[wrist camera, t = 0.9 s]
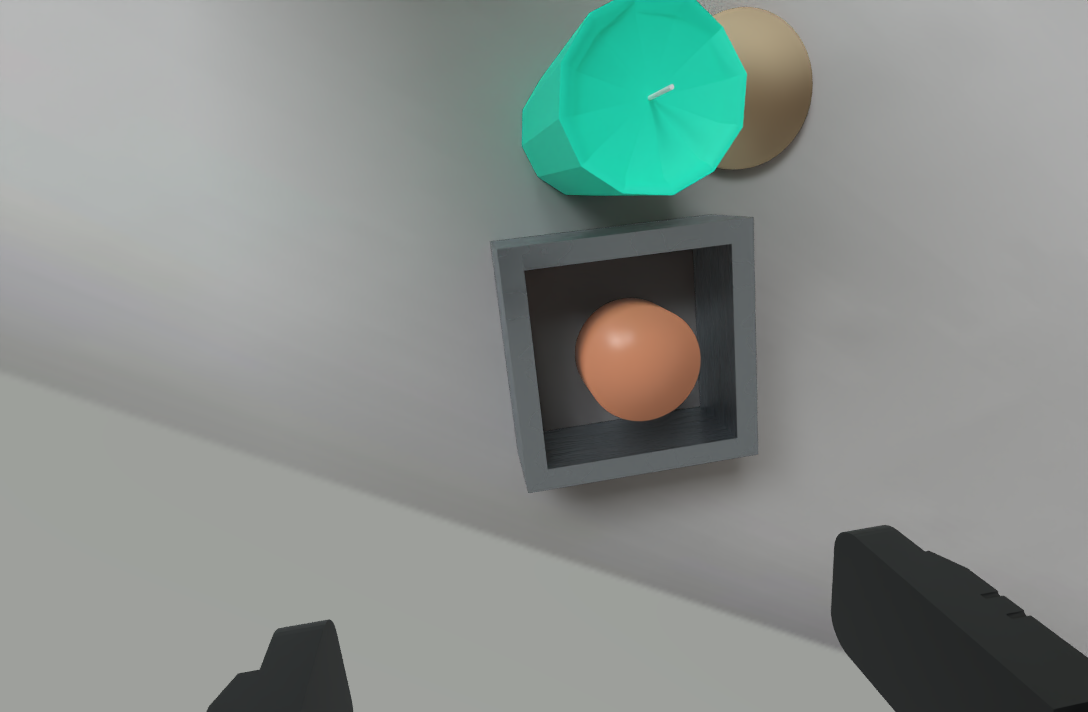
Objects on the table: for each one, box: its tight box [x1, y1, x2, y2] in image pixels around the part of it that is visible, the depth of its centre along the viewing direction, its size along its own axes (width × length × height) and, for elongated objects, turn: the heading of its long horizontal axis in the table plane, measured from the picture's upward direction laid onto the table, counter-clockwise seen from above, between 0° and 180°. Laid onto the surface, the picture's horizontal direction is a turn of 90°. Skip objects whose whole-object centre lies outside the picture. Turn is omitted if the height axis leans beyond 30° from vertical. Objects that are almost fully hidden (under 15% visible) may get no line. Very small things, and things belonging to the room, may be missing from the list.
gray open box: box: [490, 214, 758, 493], centre depth 29 cm, size 11×11×4 cm
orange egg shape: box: [575, 298, 701, 421], centre depth 27 cm, size 5×5×2 cm
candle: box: [522, 0, 747, 196], centre depth 23 cm, size 6×6×12 cm
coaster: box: [713, 7, 813, 170], centre depth 29 cm, size 7×7×1 cm
